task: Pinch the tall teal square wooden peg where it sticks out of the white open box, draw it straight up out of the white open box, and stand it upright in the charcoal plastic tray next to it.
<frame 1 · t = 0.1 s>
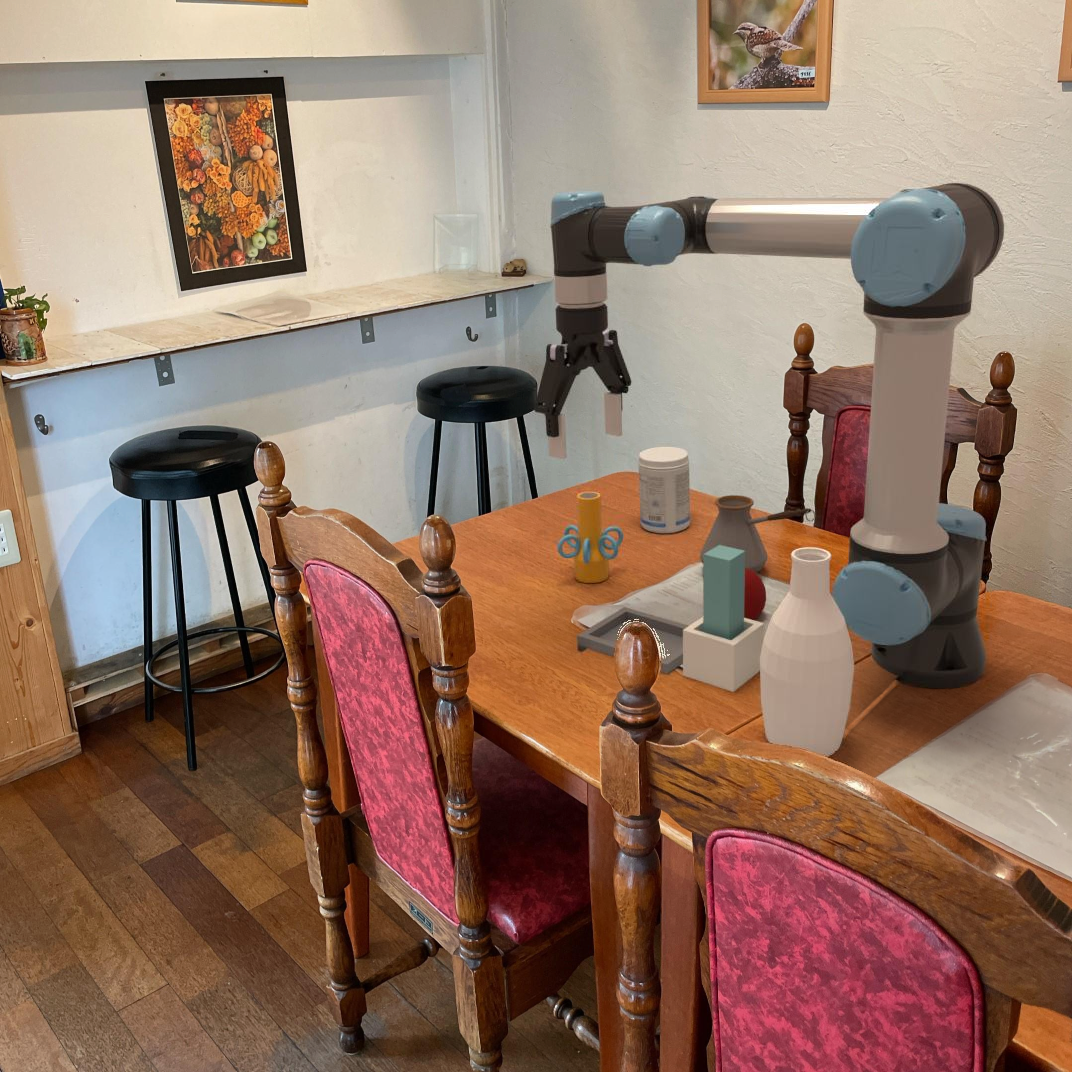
hand: (586, 445, 161), 28 cm above the table, tool pointing down, fingers open, 13 cm apart
white open box: (723, 678, 149), on the table
apple: (735, 621, 166), on the table
supplement tub: (664, 527, 205), on the table
peg: (723, 671, 148), point 1 cm above the table, touching white open box
tray: (644, 649, 158), on the table
yellow ringed vase: (592, 578, 184), on the table
bottle: (803, 743, 133), on the table
coffee pot: (756, 580, 180), on the table
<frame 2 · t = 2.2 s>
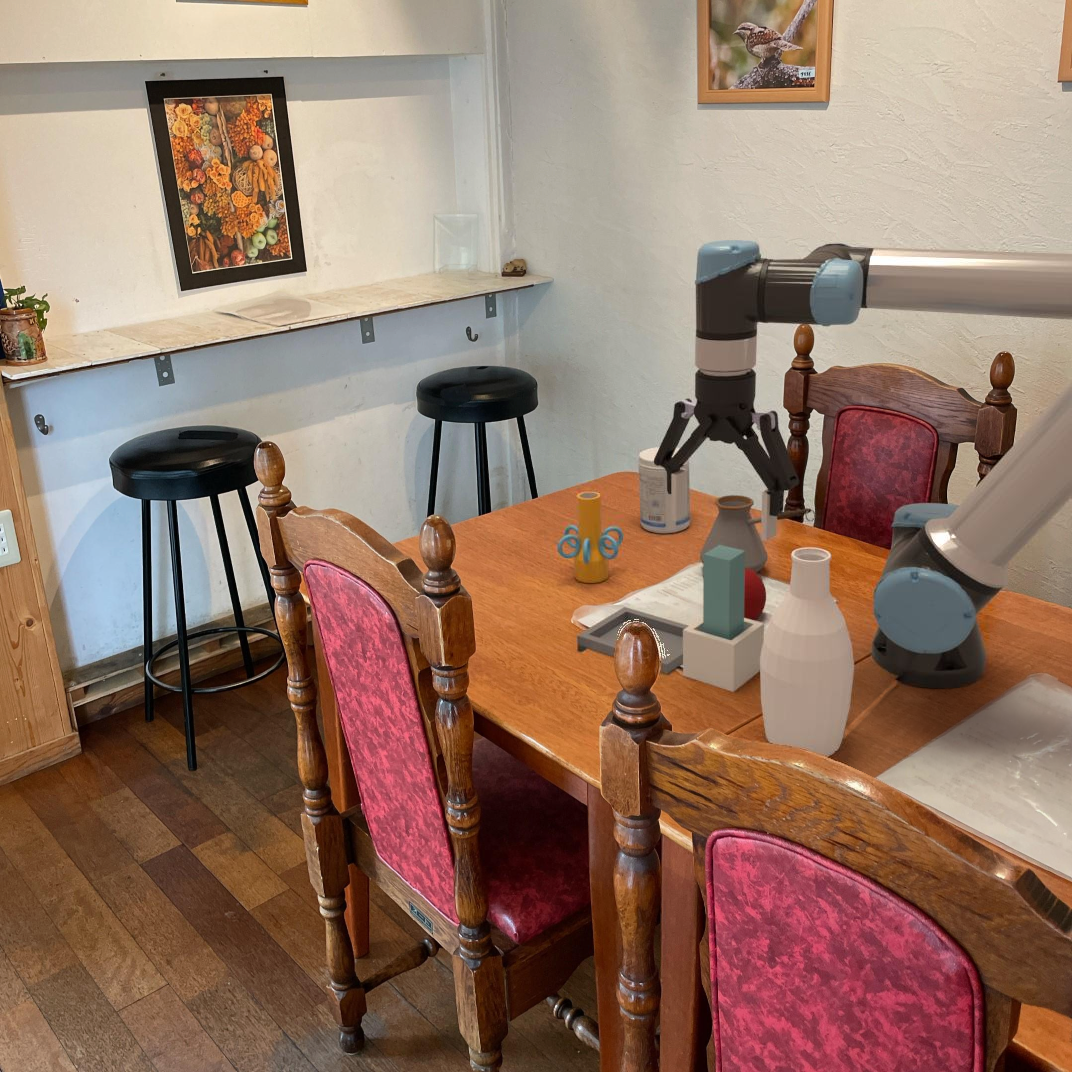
hand: (722, 527, 141), 23 cm above the table, tool pointing down, fingers open, 13 cm apart
nothing on the table moved.
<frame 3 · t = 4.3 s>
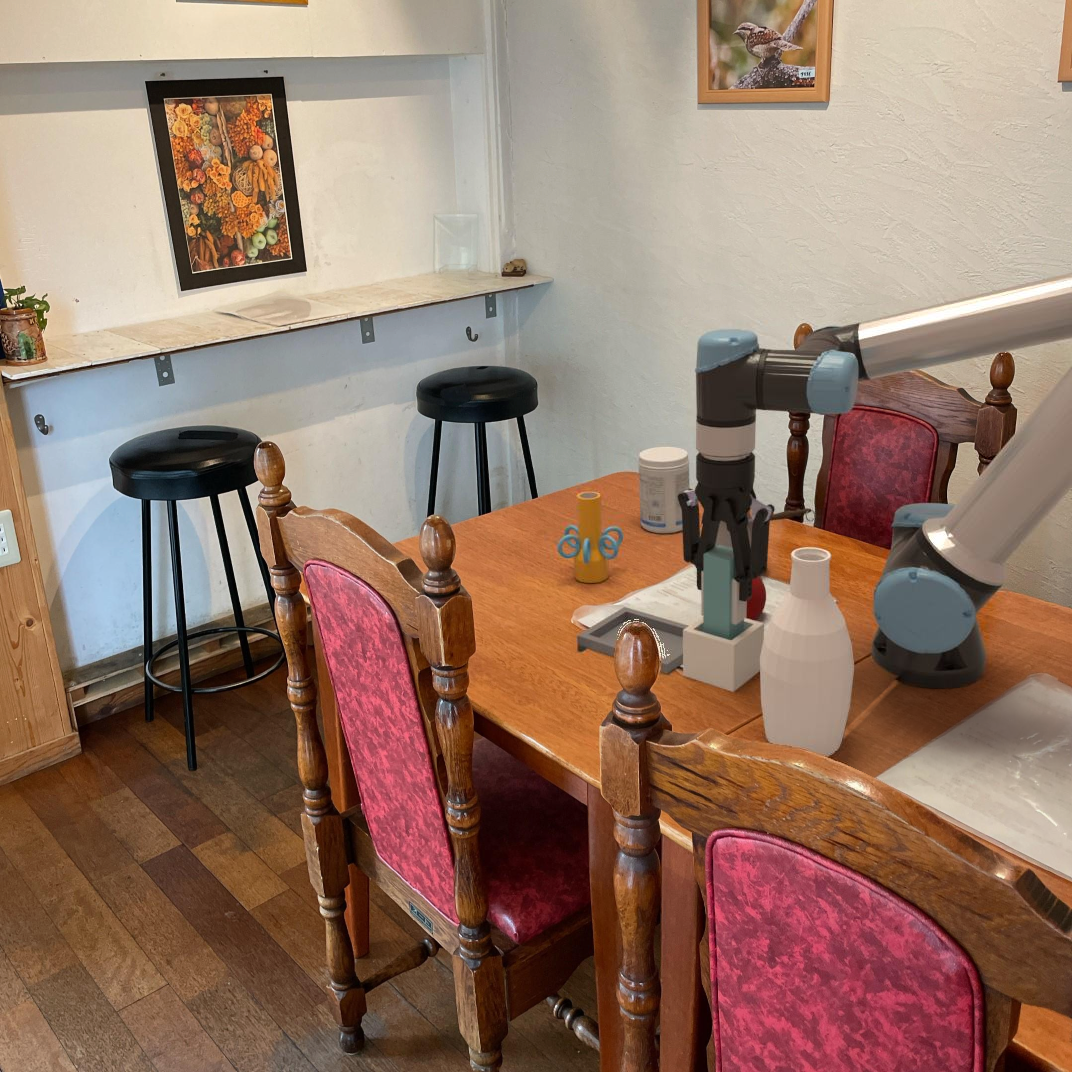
hand: (723, 615, 145), 10 cm above the table, tool pointing down, fingers closed on peg, 4 cm apart
peg: (723, 671, 148), point 1 cm above the table, touching white open box, gripper
everything else where it was.
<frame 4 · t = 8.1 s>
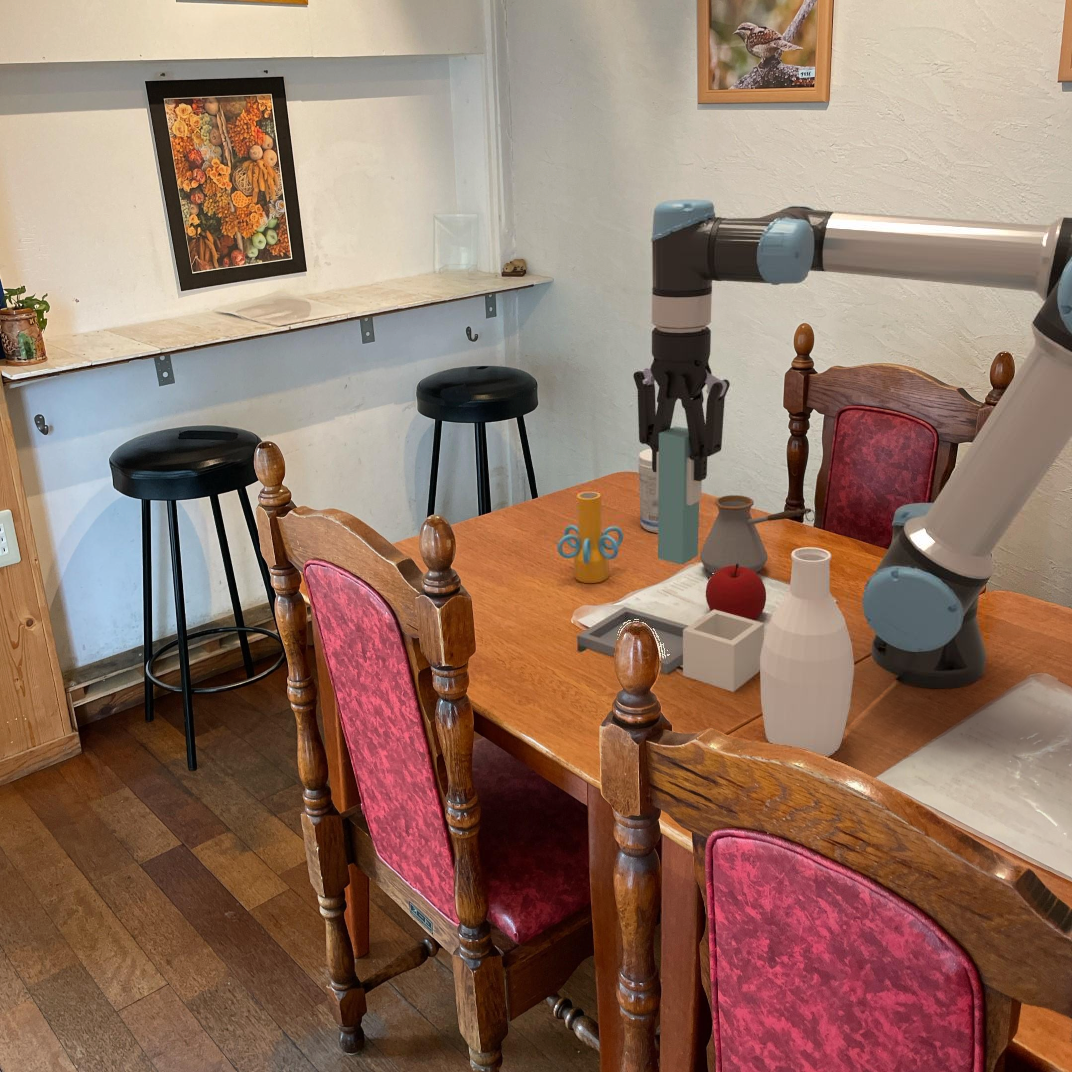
hand: (678, 498, 144), 25 cm above the table, tool pointing down, fingers closed on peg, 4 cm apart
peg: (677, 556, 148), point 17 cm above the table, touching gripper
everything else where it was.
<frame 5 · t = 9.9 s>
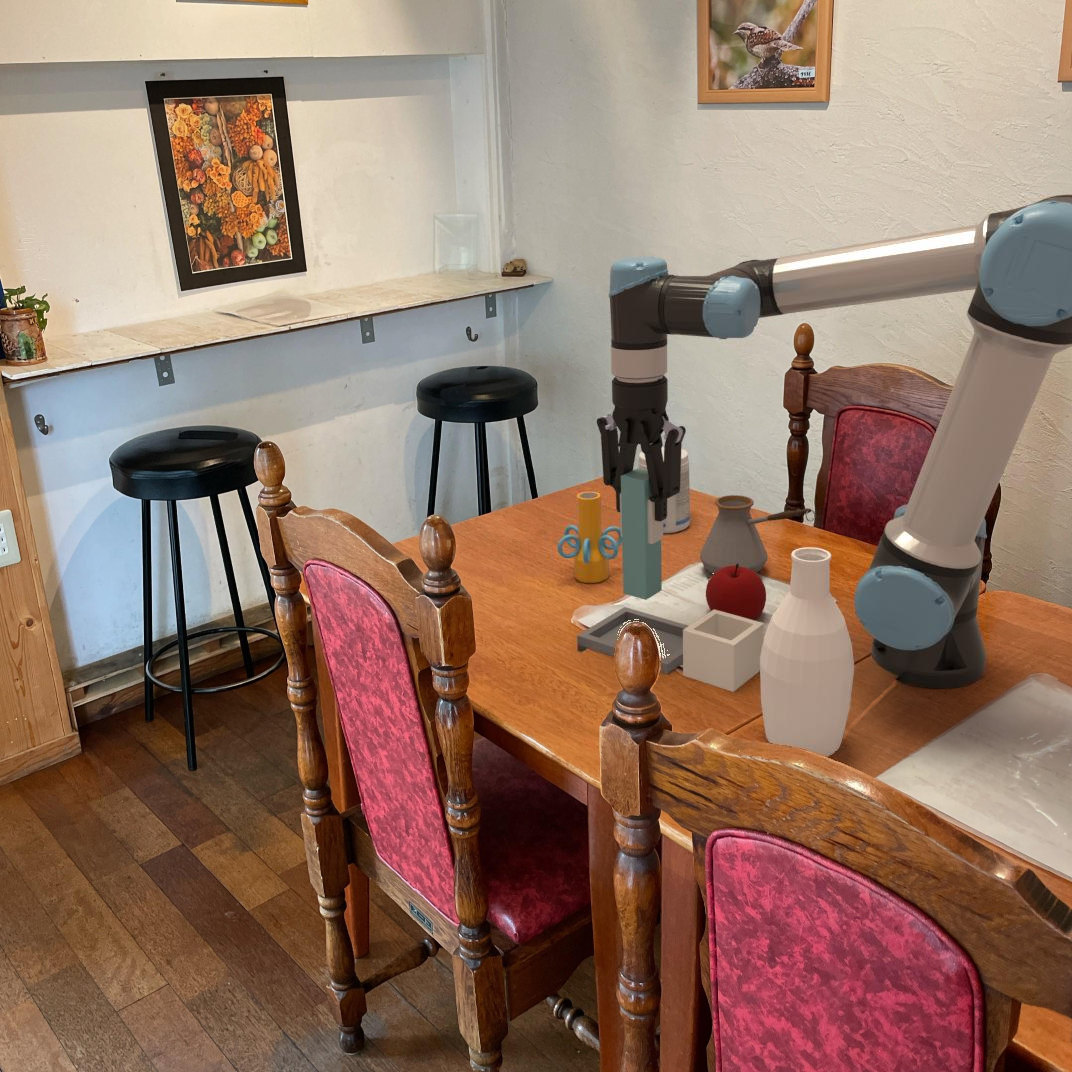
hand: (641, 537, 152), 18 cm above the table, tool pointing down, fingers closed on peg, 4 cm apart
peg: (642, 591, 155), point 9 cm above the table, touching gripper
everything else where it was.
when the fingers open (11 cm above the table, at t = 11.7 s): peg drops 1 cm, resting on tray.
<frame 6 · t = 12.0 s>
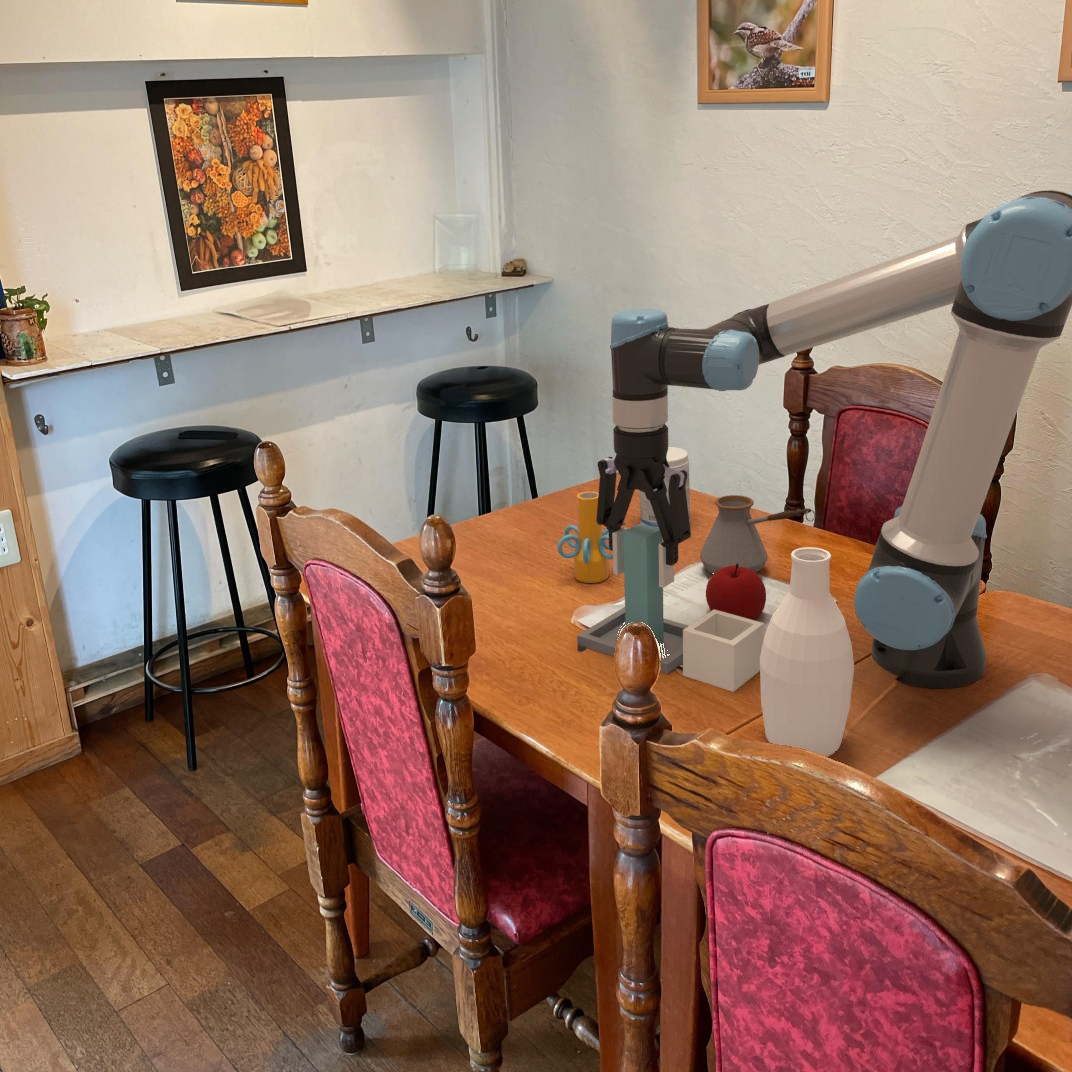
hand: (643, 577, 154), 12 cm above the table, tool pointing down, fingers open, 7 cm apart
peg: (644, 643, 158), point 1 cm above the table, touching tray
everything else where it was.
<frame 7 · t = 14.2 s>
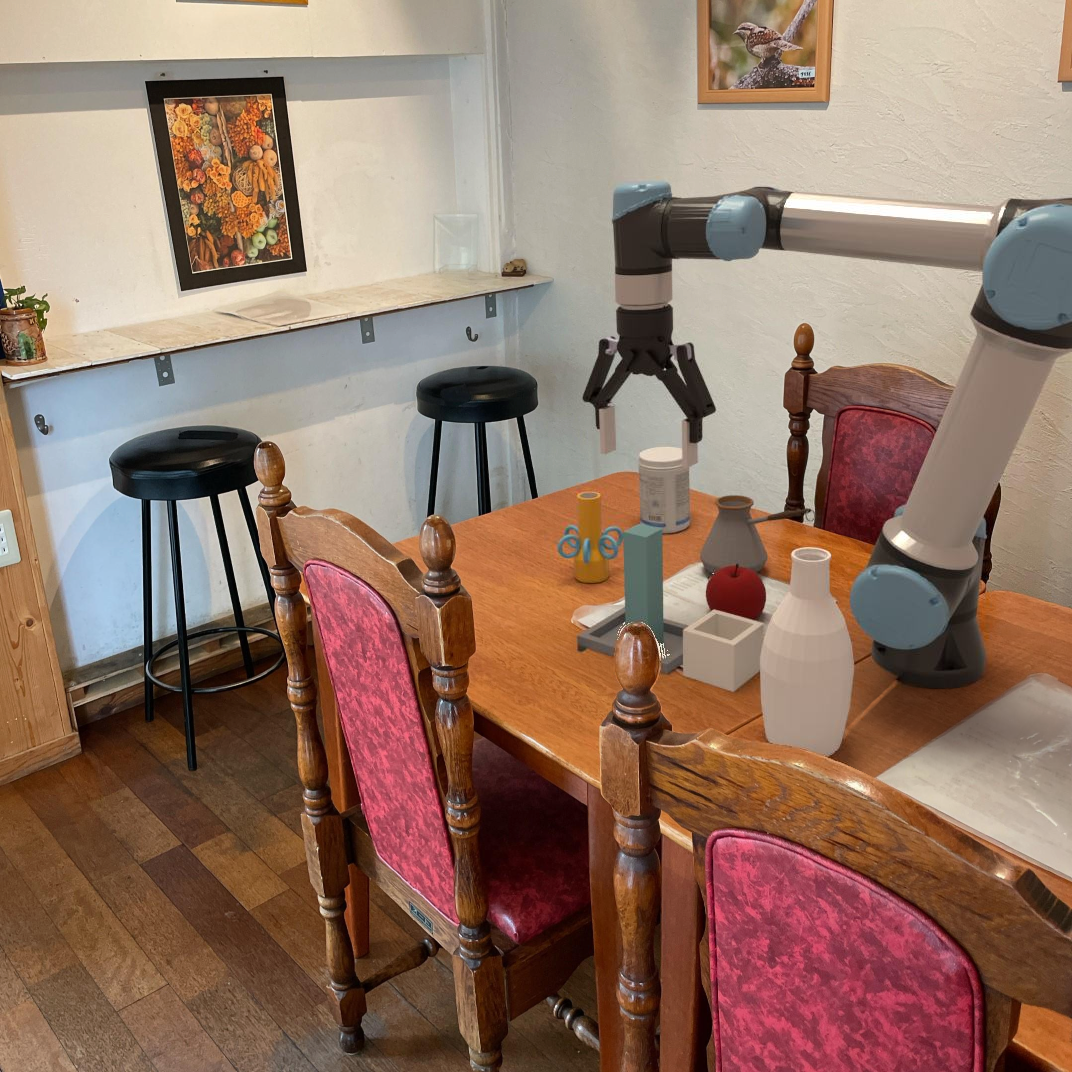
hand: (648, 458, 148), 29 cm above the table, tool pointing down, fingers open, 13 cm apart
nothing on the table moved.
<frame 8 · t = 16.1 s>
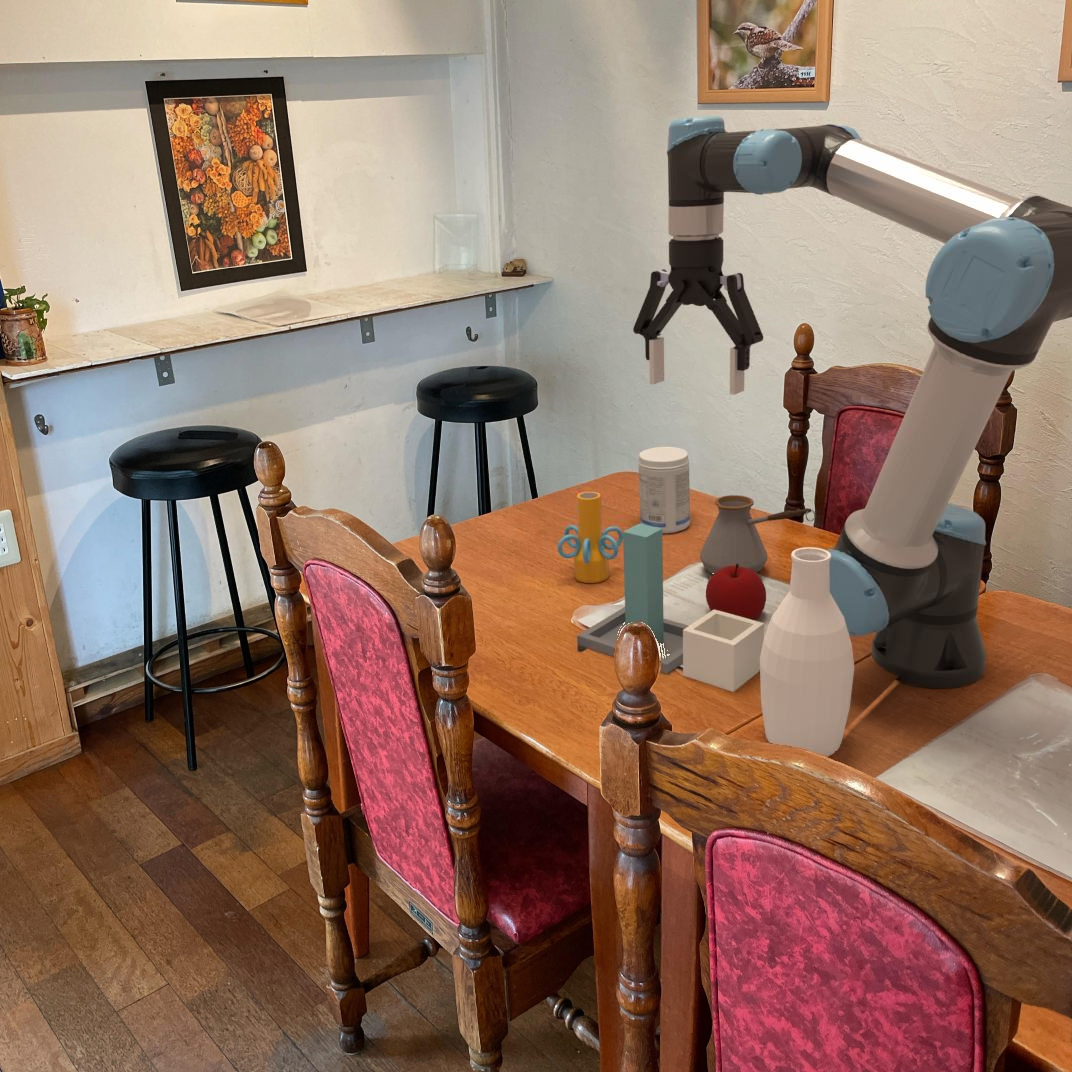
hand: (695, 387, 155), 37 cm above the table, tool pointing down, fingers open, 13 cm apart
nothing on the table moved.
at the end: peg inside the target area on the tray (0.0 cm from its centre), point 1.0 cm above the tray's base; peg tilted 0°; the gripper is holding nothing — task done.
